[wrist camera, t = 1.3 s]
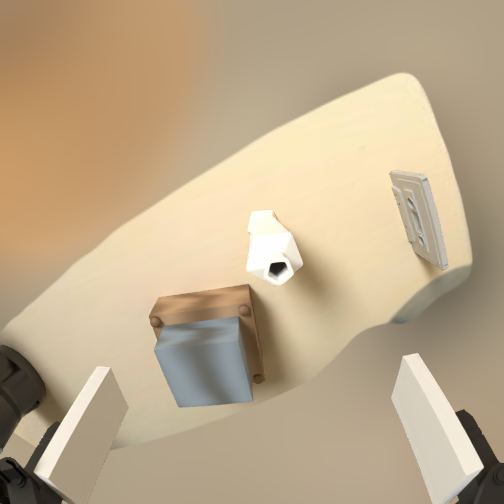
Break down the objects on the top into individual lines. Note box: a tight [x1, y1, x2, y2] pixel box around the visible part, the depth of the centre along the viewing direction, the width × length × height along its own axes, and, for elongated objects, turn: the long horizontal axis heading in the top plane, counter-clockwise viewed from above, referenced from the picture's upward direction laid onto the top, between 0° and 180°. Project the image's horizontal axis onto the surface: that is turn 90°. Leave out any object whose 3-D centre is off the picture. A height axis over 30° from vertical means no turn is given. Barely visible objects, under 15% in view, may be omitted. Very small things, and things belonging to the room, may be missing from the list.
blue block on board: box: [149, 284, 265, 407], centre depth 35 cm, size 12×12×10 cm
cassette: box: [389, 170, 449, 270], centre depth 32 cm, size 12×2×8 cm, turn 27°
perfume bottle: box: [247, 210, 303, 286], centre depth 28 cm, size 5×4×15 cm
